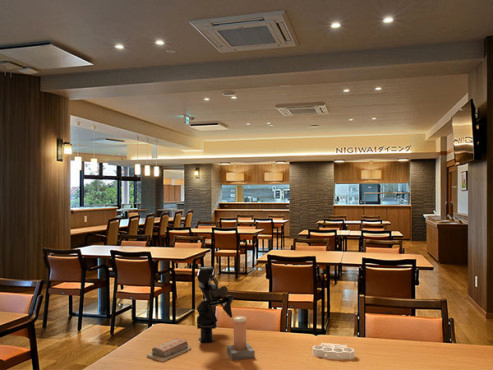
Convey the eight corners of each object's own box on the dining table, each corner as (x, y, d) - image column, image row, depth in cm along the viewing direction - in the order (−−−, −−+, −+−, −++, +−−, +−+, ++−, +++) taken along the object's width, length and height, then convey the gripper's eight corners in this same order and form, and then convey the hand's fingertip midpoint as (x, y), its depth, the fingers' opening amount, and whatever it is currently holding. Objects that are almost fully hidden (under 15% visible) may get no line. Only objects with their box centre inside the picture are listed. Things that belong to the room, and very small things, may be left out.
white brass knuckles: (355, 351, 195) (354, 363, 181) (314, 347, 200) (311, 359, 186) (355, 343, 195) (354, 355, 181) (314, 340, 200) (310, 351, 186)
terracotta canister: (234, 345, 194) (233, 316, 194) (246, 345, 193) (246, 316, 194) (233, 350, 188) (232, 320, 188) (246, 350, 188) (245, 319, 188)
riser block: (226, 352, 194) (226, 345, 194) (248, 349, 197) (248, 343, 197) (232, 360, 184) (231, 353, 184) (254, 357, 187) (254, 350, 187)
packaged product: (175, 335, 204) (191, 339, 198) (175, 346, 204) (191, 350, 198) (146, 346, 189) (162, 351, 183) (146, 358, 189) (162, 363, 183)
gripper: (200, 283, 195) (217, 312, 187) (231, 277, 209) (247, 305, 201) (189, 298, 201) (205, 327, 193) (220, 291, 214) (235, 318, 206)
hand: (224, 319), depth 198 cm, fingers open, 9 cm apart
